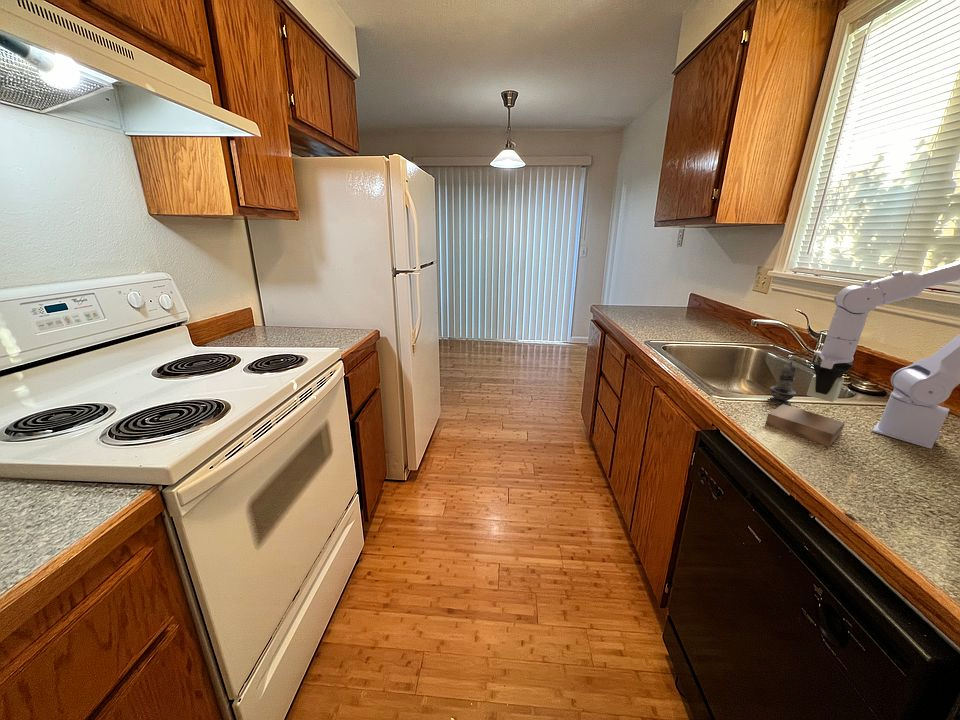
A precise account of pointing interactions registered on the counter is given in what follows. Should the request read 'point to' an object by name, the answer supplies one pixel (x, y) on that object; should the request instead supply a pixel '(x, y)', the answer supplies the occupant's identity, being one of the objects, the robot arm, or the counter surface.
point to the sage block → (831, 394)
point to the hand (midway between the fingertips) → (824, 390)
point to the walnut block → (805, 424)
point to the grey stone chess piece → (784, 386)
